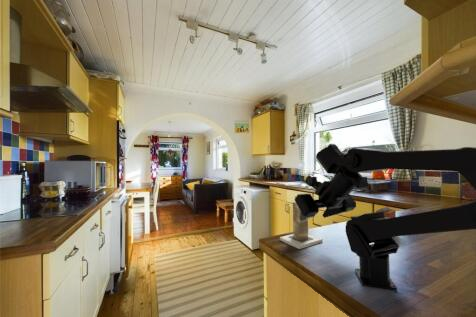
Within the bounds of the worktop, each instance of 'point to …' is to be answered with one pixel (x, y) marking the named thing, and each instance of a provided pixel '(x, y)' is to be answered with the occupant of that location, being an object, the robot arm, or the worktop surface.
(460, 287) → the worktop surface
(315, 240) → the mat
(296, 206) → the wooden block
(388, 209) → the battery
